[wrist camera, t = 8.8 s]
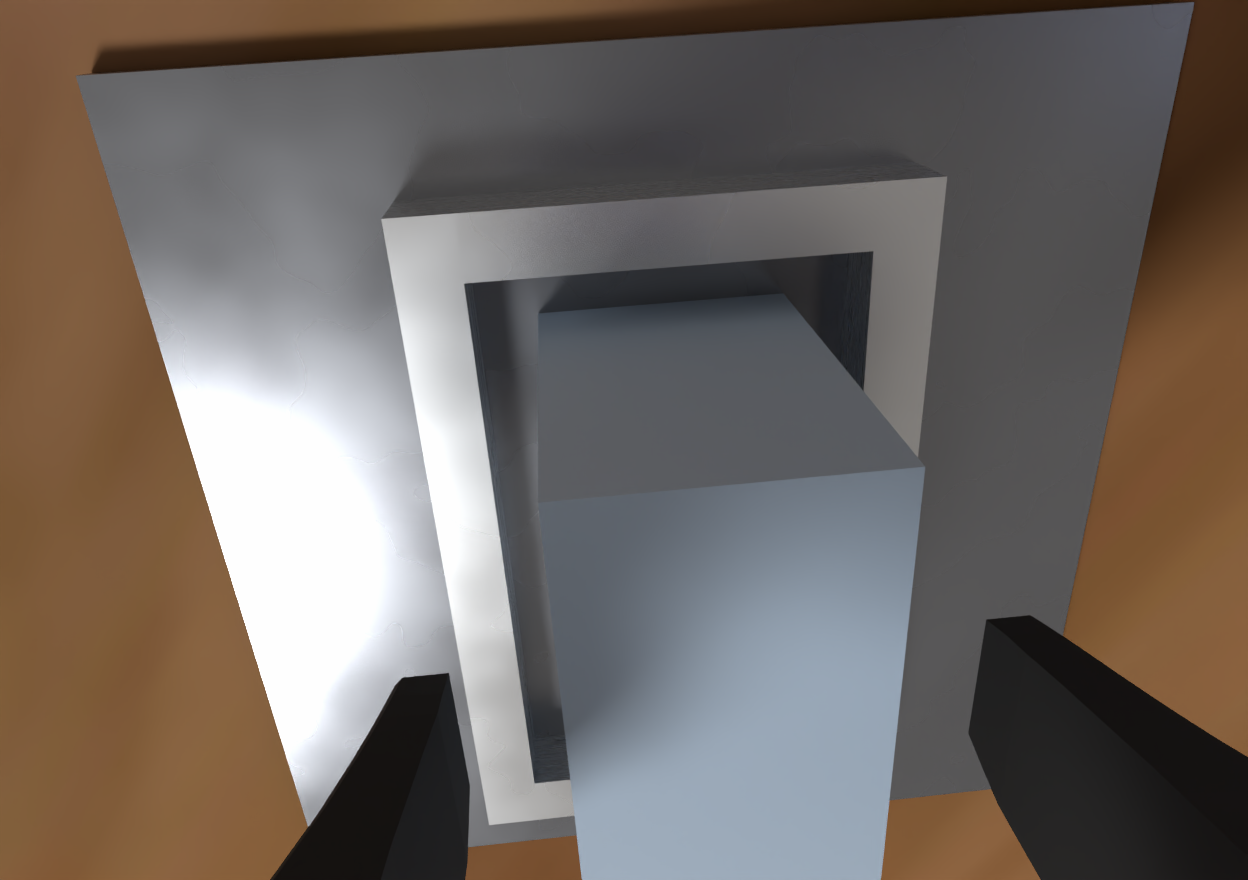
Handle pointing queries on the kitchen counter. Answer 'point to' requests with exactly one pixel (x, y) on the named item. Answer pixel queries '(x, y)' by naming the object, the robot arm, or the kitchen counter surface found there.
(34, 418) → the kitchen counter surface
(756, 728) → the light blue block
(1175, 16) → the pocket plate
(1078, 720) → the robot arm
